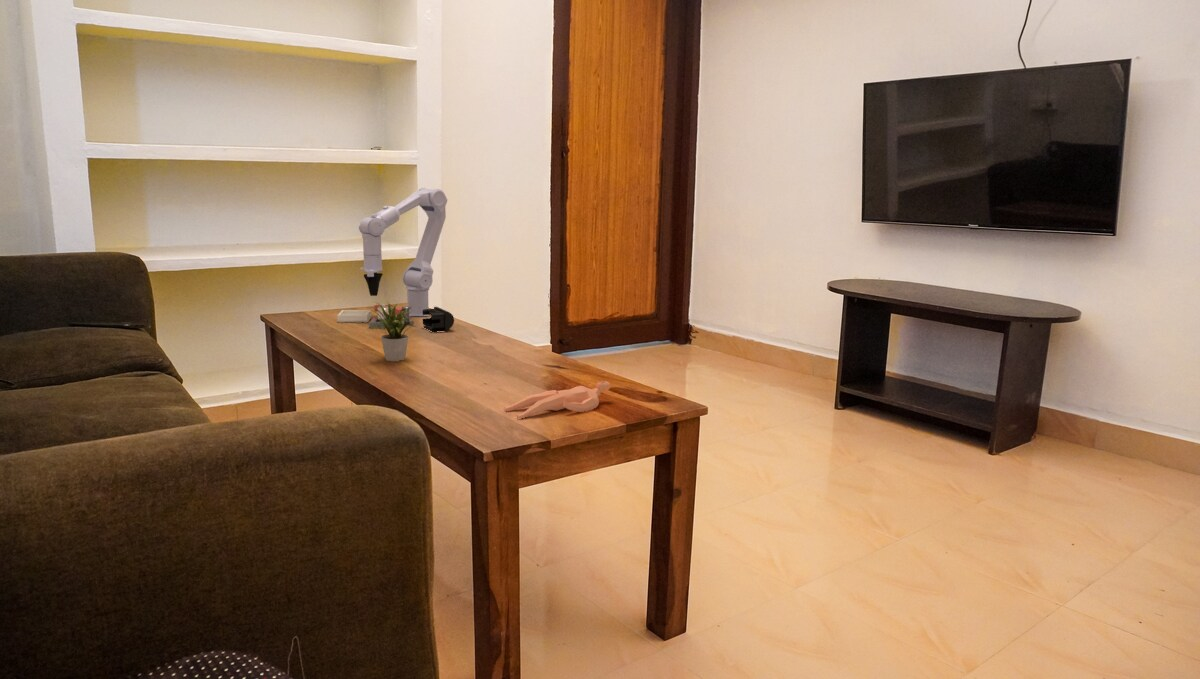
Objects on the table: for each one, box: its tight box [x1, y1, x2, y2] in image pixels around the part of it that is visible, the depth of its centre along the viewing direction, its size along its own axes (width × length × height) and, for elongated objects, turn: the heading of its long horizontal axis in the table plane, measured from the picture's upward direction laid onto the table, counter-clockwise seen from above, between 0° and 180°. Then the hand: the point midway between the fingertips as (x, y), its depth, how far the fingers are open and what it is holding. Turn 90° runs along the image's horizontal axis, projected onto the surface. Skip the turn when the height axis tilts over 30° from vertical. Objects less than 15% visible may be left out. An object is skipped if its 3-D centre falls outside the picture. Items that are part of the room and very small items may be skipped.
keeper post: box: [401, 305, 414, 326], centre depth 258 cm, size 4×4×6 cm
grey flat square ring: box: [368, 317, 386, 329], centre depth 255 cm, size 8×8×2 cm
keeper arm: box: [373, 304, 404, 316], centre depth 262 cm, size 13×3×2 cm, turn 59°
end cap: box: [422, 306, 455, 333], centre depth 252 cm, size 10×7×7 cm
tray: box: [336, 309, 372, 324], centre depth 263 cm, size 9×9×2 cm
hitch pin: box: [377, 303, 389, 322], centre depth 254 cm, size 4×4×7 cm
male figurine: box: [503, 380, 611, 420], centre depth 173 cm, size 11×5×25 cm
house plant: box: [370, 301, 419, 362], centre depth 210 cm, size 14×14×16 cm
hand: (373, 295), depth 262 cm, fingers closed
